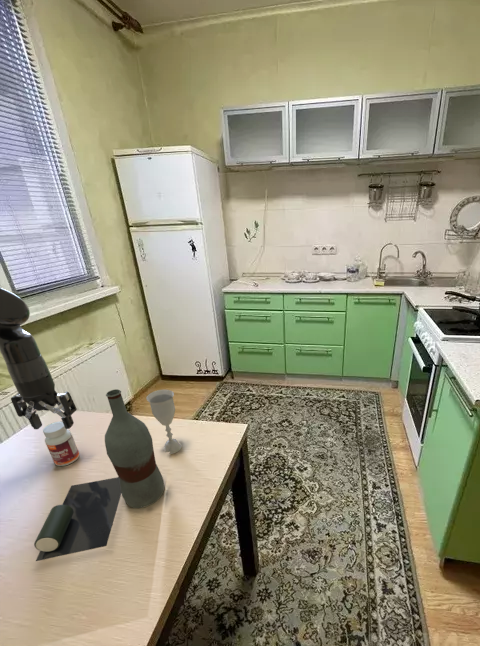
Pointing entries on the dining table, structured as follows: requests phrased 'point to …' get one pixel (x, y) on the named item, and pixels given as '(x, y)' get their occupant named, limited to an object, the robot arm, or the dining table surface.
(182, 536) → the dining table surface
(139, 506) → the vodka
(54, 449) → the pill bottle
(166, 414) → the chalice
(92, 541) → the slate board
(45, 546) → the sushi roll
